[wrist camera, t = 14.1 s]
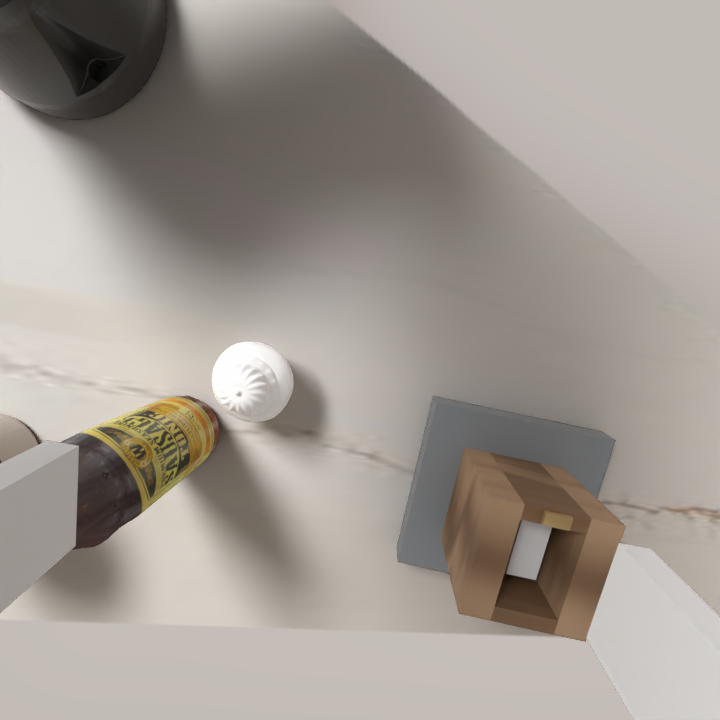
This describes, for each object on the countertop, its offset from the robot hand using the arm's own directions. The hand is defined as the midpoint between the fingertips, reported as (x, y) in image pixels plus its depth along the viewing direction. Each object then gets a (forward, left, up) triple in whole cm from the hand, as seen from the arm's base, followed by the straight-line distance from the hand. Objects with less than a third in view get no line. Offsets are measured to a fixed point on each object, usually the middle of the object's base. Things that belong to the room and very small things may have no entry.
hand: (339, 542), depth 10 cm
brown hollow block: (+8, +13, -22) cm, 26 cm away
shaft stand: (+8, +13, -24) cm, 28 cm away
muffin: (+2, -8, -24) cm, 26 cm away
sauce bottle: (+8, -14, -24) cm, 29 cm away
